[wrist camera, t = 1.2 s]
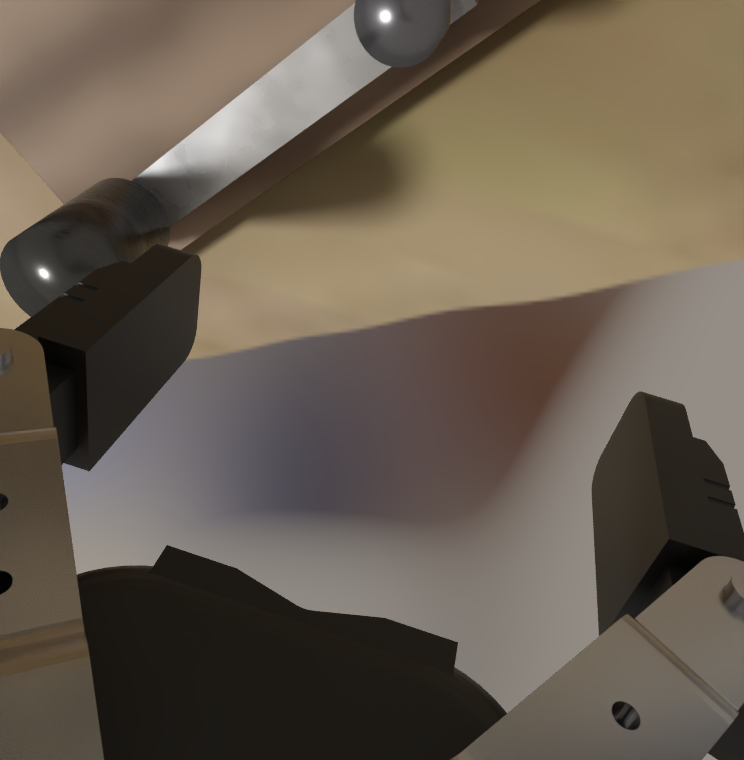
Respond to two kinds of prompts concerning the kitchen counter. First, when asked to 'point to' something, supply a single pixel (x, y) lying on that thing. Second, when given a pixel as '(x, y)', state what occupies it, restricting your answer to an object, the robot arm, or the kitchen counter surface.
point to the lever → (221, 147)
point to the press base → (177, 84)
